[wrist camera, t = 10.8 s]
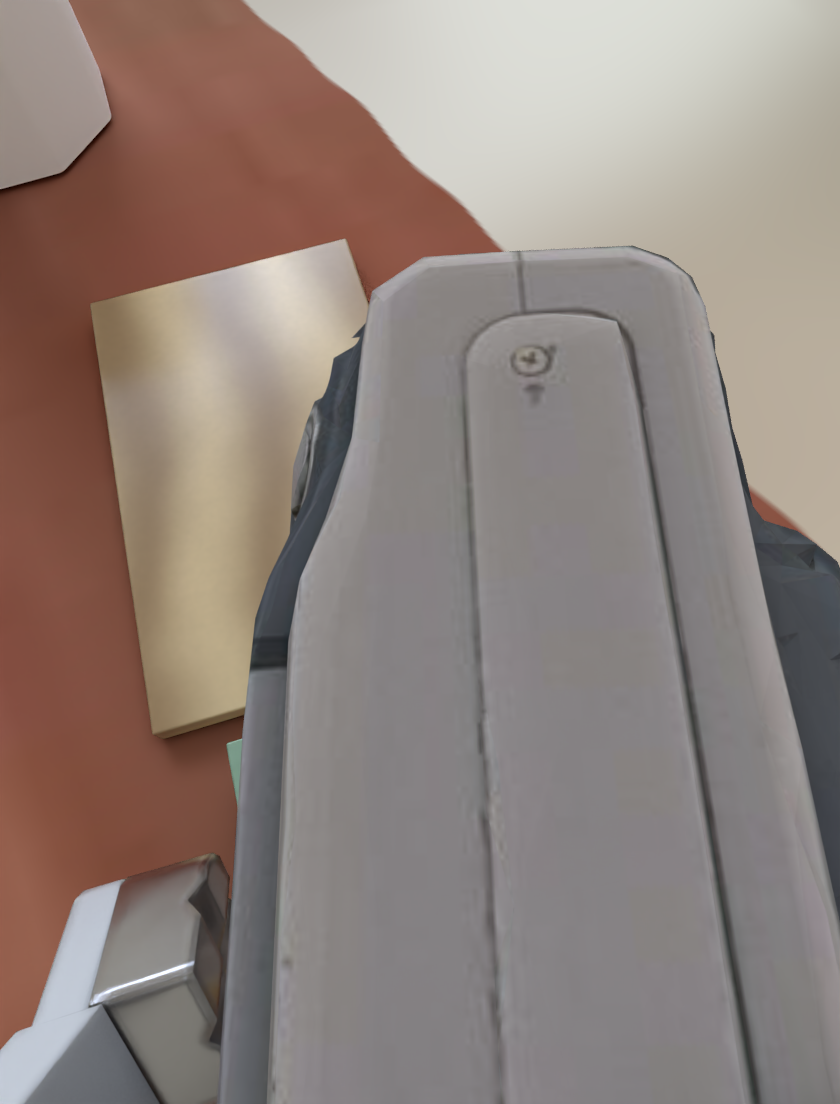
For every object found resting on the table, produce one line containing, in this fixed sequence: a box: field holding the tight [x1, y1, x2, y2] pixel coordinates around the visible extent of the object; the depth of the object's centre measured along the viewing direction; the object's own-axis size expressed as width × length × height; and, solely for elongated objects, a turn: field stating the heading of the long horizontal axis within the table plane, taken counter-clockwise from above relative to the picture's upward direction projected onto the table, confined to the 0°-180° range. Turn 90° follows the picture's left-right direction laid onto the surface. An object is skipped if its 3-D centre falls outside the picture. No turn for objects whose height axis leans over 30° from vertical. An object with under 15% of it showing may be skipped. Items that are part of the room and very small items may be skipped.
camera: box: [217, 246, 840, 1104], centre depth 9 cm, size 11×6×10 cm, turn 179°
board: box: [90, 239, 369, 739], centre depth 30 cm, size 12×20×1 cm, turn 16°
